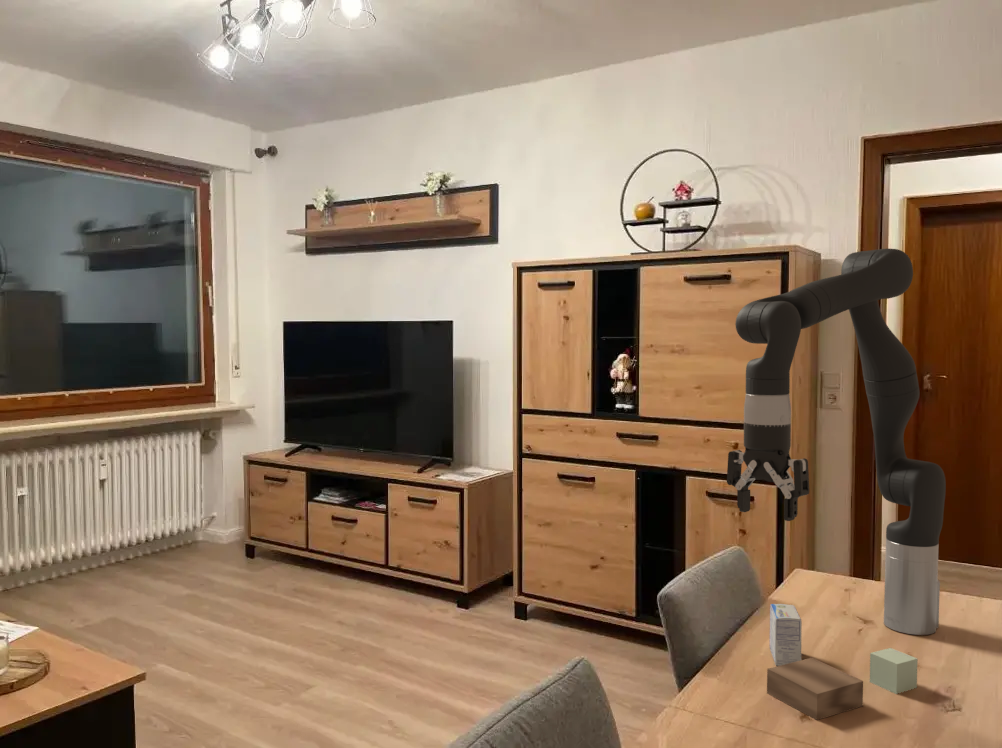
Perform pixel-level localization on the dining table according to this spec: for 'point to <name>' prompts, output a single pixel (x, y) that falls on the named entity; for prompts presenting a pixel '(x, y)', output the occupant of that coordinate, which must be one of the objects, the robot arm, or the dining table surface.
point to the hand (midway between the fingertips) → (766, 515)
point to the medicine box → (785, 634)
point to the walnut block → (815, 688)
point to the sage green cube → (893, 670)
